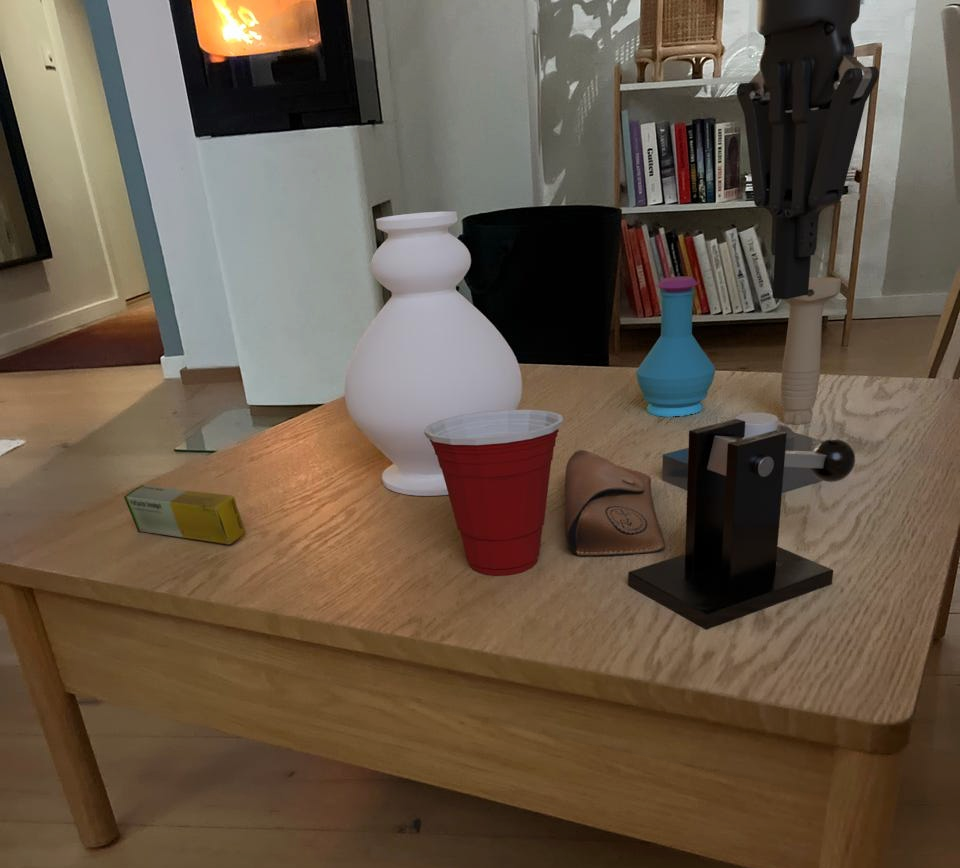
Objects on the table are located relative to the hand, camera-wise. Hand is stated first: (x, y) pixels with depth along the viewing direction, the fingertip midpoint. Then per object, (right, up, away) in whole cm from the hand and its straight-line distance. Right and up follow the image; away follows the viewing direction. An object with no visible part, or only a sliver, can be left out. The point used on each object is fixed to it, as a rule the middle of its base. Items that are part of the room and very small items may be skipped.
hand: (790, 296), depth 82 cm
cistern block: (-1, -14, +9) cm, 17 cm away
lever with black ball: (-5, -18, -13) cm, 23 cm away
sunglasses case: (-15, -19, +3) cm, 25 cm away
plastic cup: (-25, -24, -4) cm, 35 cm away
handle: (+9, -6, +24) cm, 26 cm away
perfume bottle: (-3, -2, +32) cm, 32 cm away
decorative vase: (-31, -13, +17) cm, 38 cm away
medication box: (-55, -20, +7) cm, 59 cm away
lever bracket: (-8, -26, -11) cm, 30 cm away
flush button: (-1, -11, +7) cm, 13 cm away
